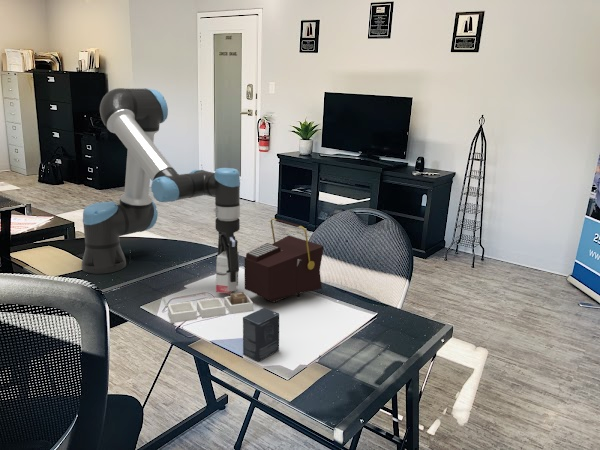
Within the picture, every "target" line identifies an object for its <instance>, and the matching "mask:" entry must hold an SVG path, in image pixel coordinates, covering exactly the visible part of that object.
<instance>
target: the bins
mask: <svg viewBox="0 0 600 450" xmlns="http://www.w3.org/2000/svg"><path fill="white" fill-rule="evenodd" d="M244 294H245V295H246V297H247V303H242V304H235V305H232V304H231V303H230V296H229V295H228V296H224V297H223V299H224V300H223V301H224V302H223V301H222V299H221V298H220V297H215V298H209V299H207V298H206V299H200V300H196V307H195V305H194V303H193V301H192V300H191V301H183V302H178V303H170V304H167V306H168V307H167V314H168V317H169V319H170V323H171V325H175V323H180V322H185V321H191V320H192V321H193V320H197V318H198V317H197V316H198V314H197V312H198V313H199V315H200V317H201V319H206V318H212V317H213V318H214V317H218V316H219V317H220V316H226V309H227V311H228V313H229V314H230V315H233V314H240V313H246V312H254V302H253V301H252V299H251V298H250V297H249V295H248V294H247V293H244Z"/></svg>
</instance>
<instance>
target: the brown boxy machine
mask: <svg viewBox="0 0 600 450" xmlns="http://www.w3.org/2000/svg"><path fill="white" fill-rule="evenodd" d="M273 221H276V222H278V223H281V224H284V225H288V226H292V227H295V228H301V229H302V230H303V231H304V235H305V236H304V238H305V239H302V238H299V237H295V236H292V235H287V236H285V237H283V238H281V239H279V240H277V241H276V237H275V236H276V235H275V232H274V231H275V229H274V225H273ZM270 226H271V227H270V228H271V232H272V233H271V234H272V239H273V243H269V242H266V243H264V244H262V245H260V246H258V247H256V248H254V249H252V250H251V251H248V252H246V254H245V258H244V290H247V291H248V292H250V293H253V294H255V295H257V296H259V297H260V298H261V299H265V300H267V301H269V302H271V303H273V304H277V302H278V301H281V300H283V299H286V298H289V297H293V296H295V295H296V297H297V298H300V297H301V296H300V295H301V294H302V293H307V292H312V291H317V290H321V289H322V287H323V286H322V281H321V280H322V279H321V265H322V264H321V263H322V259H323V253H324V247H325V245H322V244H318V243H315V242H312V241H309V240H308V234H307V230H306V228H305V227H304V226H302V225H299V224H296V223H293V222H289V221H286V220H282V219H279V218H277V219H276V218H272V219H271V220H270ZM322 290H323V289H322Z"/></svg>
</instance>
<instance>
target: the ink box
mask: <svg viewBox="0 0 600 450" xmlns="http://www.w3.org/2000/svg"><path fill="white" fill-rule="evenodd" d="M239 254H240V251H238V264H240V262H239V260H240V258H239V257H240V255H239ZM215 265H216V272H215V273H216V276H215V280H216V281H215V290H216V291H215V292H216V293H221V294H232V292H233V291H228V273H227V272H226V271H228V270H229V269H228V262H227V254H226V251H224V252H222V253H221V254H219V255H217V256H216V264H215ZM238 286H239V272H237V287H238Z"/></svg>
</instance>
